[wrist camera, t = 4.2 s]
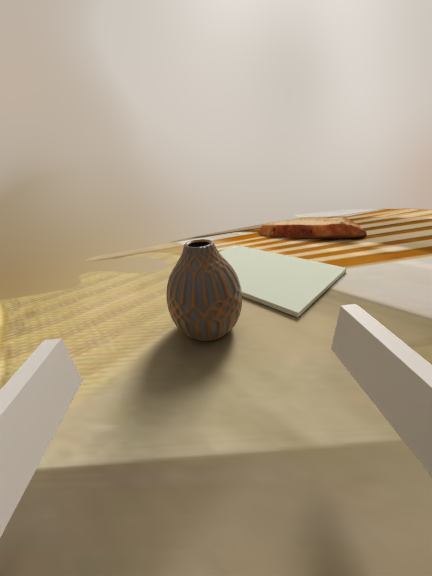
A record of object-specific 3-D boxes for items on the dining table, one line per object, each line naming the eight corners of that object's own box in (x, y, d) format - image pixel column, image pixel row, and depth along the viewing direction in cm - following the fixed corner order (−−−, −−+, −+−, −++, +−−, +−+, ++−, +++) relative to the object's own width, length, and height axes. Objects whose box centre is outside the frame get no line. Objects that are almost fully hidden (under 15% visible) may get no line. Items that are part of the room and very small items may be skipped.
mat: (345, 271, 31) (346, 267, 31) (297, 317, 23) (298, 312, 23) (236, 248, 44) (236, 245, 44) (179, 271, 36) (179, 268, 36)
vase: (209, 302, 27) (202, 229, 23) (256, 325, 22) (258, 238, 18) (160, 330, 23) (140, 247, 19) (205, 365, 18) (192, 265, 14)
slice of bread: (252, 233, 55) (252, 217, 53) (309, 222, 60) (311, 207, 59) (307, 253, 40) (309, 232, 38) (375, 236, 46) (380, 217, 44)
